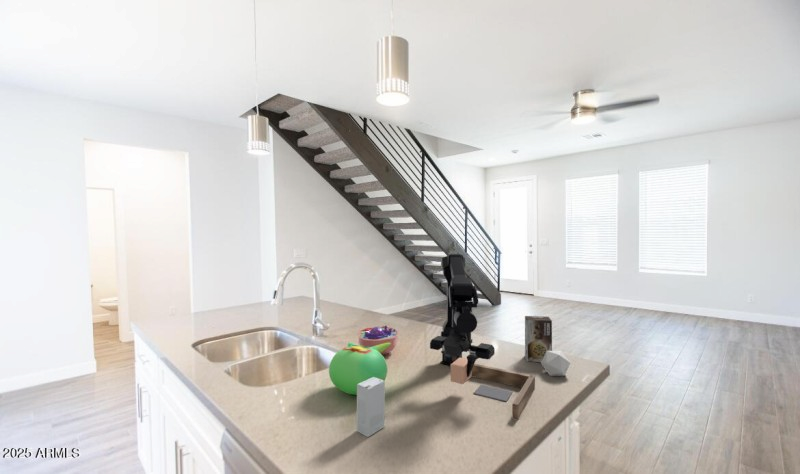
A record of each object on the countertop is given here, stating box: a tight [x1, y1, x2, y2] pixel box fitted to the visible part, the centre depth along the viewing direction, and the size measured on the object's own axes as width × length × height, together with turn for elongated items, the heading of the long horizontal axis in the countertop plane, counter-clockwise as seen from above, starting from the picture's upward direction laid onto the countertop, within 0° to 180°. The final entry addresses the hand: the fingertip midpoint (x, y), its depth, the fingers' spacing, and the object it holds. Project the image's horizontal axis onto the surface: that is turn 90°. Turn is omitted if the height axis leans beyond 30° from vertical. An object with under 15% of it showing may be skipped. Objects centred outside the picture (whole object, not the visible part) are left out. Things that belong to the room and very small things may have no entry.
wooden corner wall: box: [471, 363, 536, 421], centre depth 111 cm, size 22×22×4 cm
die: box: [540, 350, 571, 377], centre depth 126 cm, size 8×9×10 cm
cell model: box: [357, 325, 399, 356], centre depth 148 cm, size 17×20×11 cm
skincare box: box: [356, 377, 386, 438], centre depth 91 cm, size 6×4×12 cm
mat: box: [473, 384, 514, 403], centre depth 111 cm, size 10×7×1 cm
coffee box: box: [524, 315, 553, 363], centre depth 140 cm, size 9×6×16 cm
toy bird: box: [328, 341, 391, 396], centre depth 112 cm, size 18×17×15 cm
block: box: [450, 357, 472, 385], centre depth 110 cm, size 4×7×5 cm, turn 149°
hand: (461, 375), depth 110 cm, fingers closed on block, 4 cm apart
